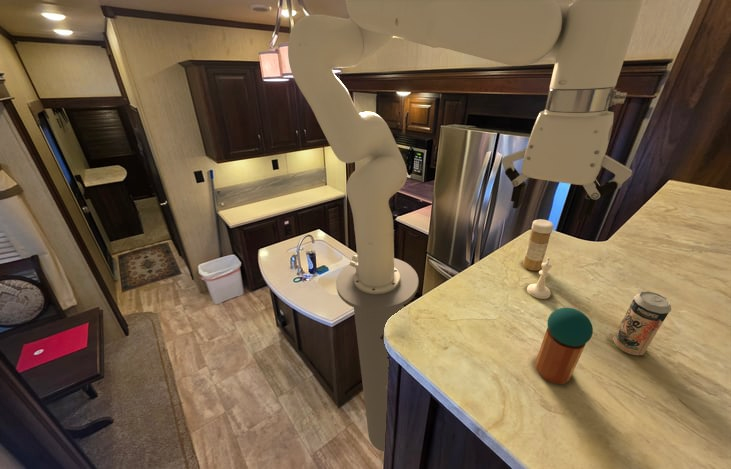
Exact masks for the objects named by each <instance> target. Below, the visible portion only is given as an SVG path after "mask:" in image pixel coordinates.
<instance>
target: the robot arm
mask: <svg viewBox="0 0 731 469" xmlns="http://www.w3.org/2000/svg"><path fill="white" fill-rule="evenodd" d="M643 1H644V0H571V1H562V2H561V1H560V2H557V0H345V6H346V11H347V13H348V15H349V17H348V18H344V17H338V16H333V15H327V14H317V13H316V14H309V15H306V16H303V17H302V18H300V19H298V20H297V21H296V22H295V23H294V24H293V27H292V28H291V30H290V34H289V37H288V43H287V59H288V64H289V68H290V72H291V75H292V77H293V80H294V81H295V84H296V85H297V87H298V89H299V90H300V92H301V94H302V95H303V97H304V99H305V100H306V101H307V103H308V105H309V106H310V108H311V111H312V112H313V114H314V116H315V119H316V121H317V123H318V124H319V127H320V128H321V130H322V132H323V134H324V136H325V138H326V140H327V142H328V145H329V146H330V149H331V150H332V152H333V154H334V156H335V157H336V158H337V159H338V160H339V161H340V162H342V163H345V164H353V163H356V162H359V161H360V160H363V159H364V160H365V162H366V163H365V164H363V165H361V166H359V167H358V168H356V169H355V170H354V171H353V172H351V174H350V176H349V178H348V179H347V182H346V187H345V188H346V195H347V199H348V202H349V205H350V209H351V213H352V219H353V229H354V235H355V237H354V238H355V245H356V246H355V247H356V254H353V255H352V257H351V260H350V262H349V264H350V265H351V266H353V267H355V268H356V273H355V274H354V284H355V286H356V287H357V288H358V289H359V290H361V291H363V292H365V293H368V294H384V293H387V292H390V291H392V290H394V289H395V288H396V287H397V286H398V285H399V283H400V273H399V271H398V270H397V269H396V268H395V267H394V258H395V241H394V240H395V238H394V237H395V236H394V233H395V232H394V218H393V213H392V210H391V208H390V203H389V201H390V198H392V197H393V196H394V195H395V194H396V193H397V192H399V191H400V190H401V189H403V187H404V186H405V184H406V182H407V180H408V169H407V164H406V162H405V160H404V158H403V156H402V153H401V151H400V148H399V147H398V144H397V142H396V139H395V137H394V135H393V133H392V131H391V129H390V127H389V125H388V123H387V122H386V121H385V119H383V117H381V115H379V114H377V113H375V112H372V111H364V112H359V110H358V109H357V107H356V104H355V103H354V102H353V99H352V97H351V94H350V92H349V90H348V88H347V87H346V86H345V85H344V83H343V82H342V81H341V80H340V79H339V78H338V77H337V75H336V74H335V72H334V71H333V69H344V68H354V67H357V66H358V65H361V64H362V63H364V62H365V61H366V60H368V59H370V57H372V56H373V55H374V54H375V53H376V52H378V51H379V50H380V49H382V48H383V47H384V46H385V45H387V44H388V43H389V42H390V41H391V40H393V39H394V38H397V39H401V40H403V41H404V40H405V41H408V42H412V43H415V44H418V45H419V44H420V45H423V46H427V47H430V48H433V49H435V48H436V49H437V48H439V49H447V50H449V51H453V52H457V53H461V54H465V55H469V56H473V57H476V58H480V59H484V60H488V61H493V62H496V63H499V64H504V65H508V66H511V67H512V66H514V67H520V66H521V67H522V66H528V65H533V64H536V63H542V62H546V61H553V60H555V62H554V67H553V71H552V75H551V80H550V84H549V90H548V94H547V98H546V102H545V108H544V110H540V112H539V113H538V115H537V117H536V119H535V122H534V125H533V127H532V130H531V133H530V136H529V139H528V142H527V145H526V148H524V149H522V150H519V151H516V152H513V153H510V154H508V155H505V156H504V157H502V158H501V159H500V160H501V164H502V168H503V170H504V174H505V175H506V177H507V178H508V180H509V181H510V182H511V185H512V187H513V188H512V193H511V198H510V202H513V203H512V209H518V208H519V207H520V206H521V205H522V204H523V200H524V197H525V191H526V187H527V183H526V182H525V181H526V180H528V179H535V180H542V181H548V182H554V183H563V184H568V185H578V186H582V187H583V188H584V190H585V191H586V193H587V194H586V195H585V197H584V200H583V203H582V205H581V208H580V211H579V214H578V218H577V221H578V222H579V223H583V222H584V220H585V218H586V217H591V216H592V214H593V211H594V209H595V206H596V203H597V200H598V199H600V198H601V197H603V196H606V195H607V194H609V193H612V192H613V191H616V190H617V188H619V187H620V186H621V185H622V184H624V183H625V182H627V180H628V179H630V178H631V176H632V175H633V170H632V169H631V168H630V167H628V166H626V165H624V164H623V163H620V162H619V161H618V160H615V159H614V158H612V157H610V156H609V155H607V150H608V146H609V143H610V140H611V135H612V130H613V124H614V117H615V116H614V114H615V112H613V111H609V108H610V107H613V106H616V105H619V104H621V105H623V104H625V101H626V98H627V95H628V92H621V91H618V89H616V87H617V83H618V79H619V78H620V74H621V71H622V67H623V65H624V61H625V58H626V55H627V53H628V48H629V46H630V43H631V39H632V37H633V33H634V30H635V27H636V23H637V21H638V18H639V14H640V12H641V8H642V4H643ZM520 160H523V161H522V165H521V173H519V171H518V170H517V169H516V167H514V162H516V161H520ZM602 168H603V169H606V170H607V171H609V172H611V173H612V174H613V175H614V177H612V178H611V179H610V180H607V181H605V182H604V183H602V184H600V183H599V181H598V180H597V177H598V176H599V174H600V172H601V169H602ZM354 261H355V262H354ZM356 262H357V263H356Z"/></svg>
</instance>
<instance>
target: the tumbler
mask: <svg viewBox="0 0 731 469" xmlns="http://www.w3.org/2000/svg"><path fill="white" fill-rule="evenodd" d="M586 344H587V343H585V344H584V345H581V346H567V345H564V344H562V343H560V342H558V341H557V340H556V339H555V338H554V337H553V336H552V335H551V334H550V332H549V329H548V327H546V330H545V333H544V337H543V339H542V342H541V345H540V347H539V351H538V353H537V356H536V359H535V362H534V363H535V364H534V365H535V369H536V371H537V373H538V374H539V375H540V377H542V378H543V379H544V380H546V381H548V382H550V383H552V384H556V385H564V384H566V383H568V382H569V381H570V379H571V378H572V376H573V373H574V371H575V369H576V366H577V365H578V362H579V360H580V358H581V356H582V353H583V351H584V349H585V347H586Z"/></svg>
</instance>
